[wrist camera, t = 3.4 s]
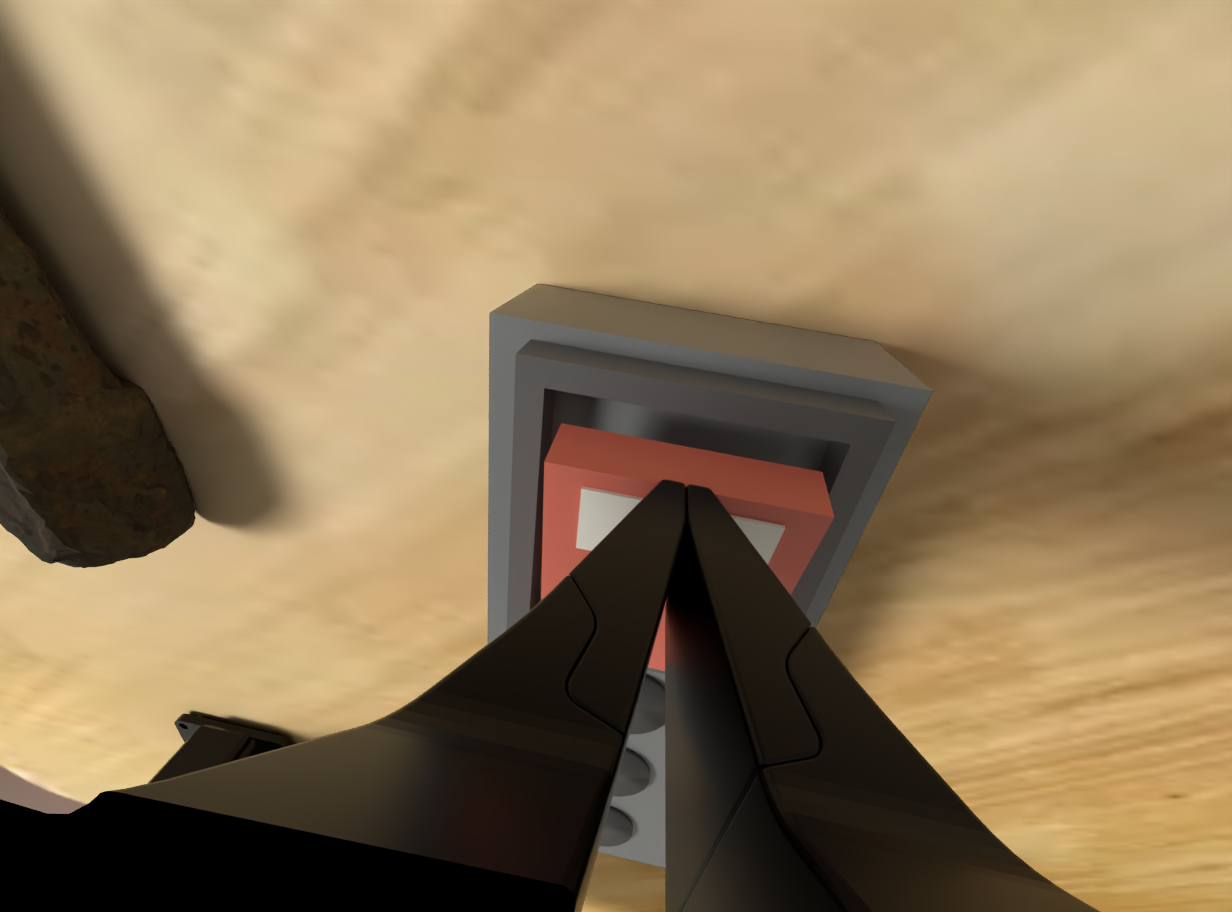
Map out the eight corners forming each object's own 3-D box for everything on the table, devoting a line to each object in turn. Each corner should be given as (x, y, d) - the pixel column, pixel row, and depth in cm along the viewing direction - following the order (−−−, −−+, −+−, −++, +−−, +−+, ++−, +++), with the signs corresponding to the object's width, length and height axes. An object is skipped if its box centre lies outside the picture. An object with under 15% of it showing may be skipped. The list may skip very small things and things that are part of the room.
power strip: (693, 786, 23) (693, 905, 20) (512, 744, 24) (477, 853, 20) (875, 341, 13) (956, 411, 9) (537, 283, 13) (470, 324, 9)
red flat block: (736, 642, 13) (738, 689, 12) (552, 603, 13) (539, 646, 12) (822, 472, 9) (835, 520, 8) (561, 423, 9) (543, 464, 8)
